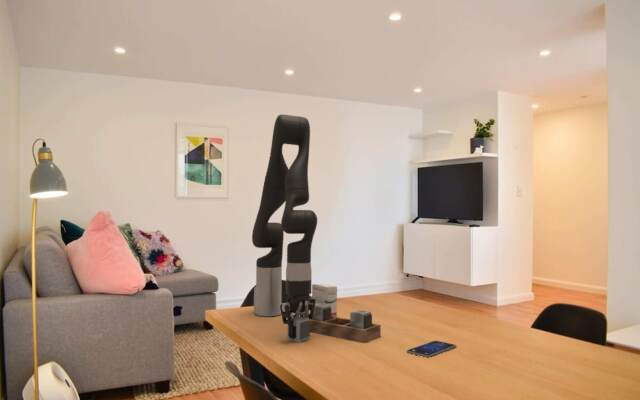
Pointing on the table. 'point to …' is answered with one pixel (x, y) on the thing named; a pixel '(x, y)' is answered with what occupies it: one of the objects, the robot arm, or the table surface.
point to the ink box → (325, 296)
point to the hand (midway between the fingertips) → (298, 336)
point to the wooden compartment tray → (344, 324)
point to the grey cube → (301, 329)
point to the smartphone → (431, 349)
